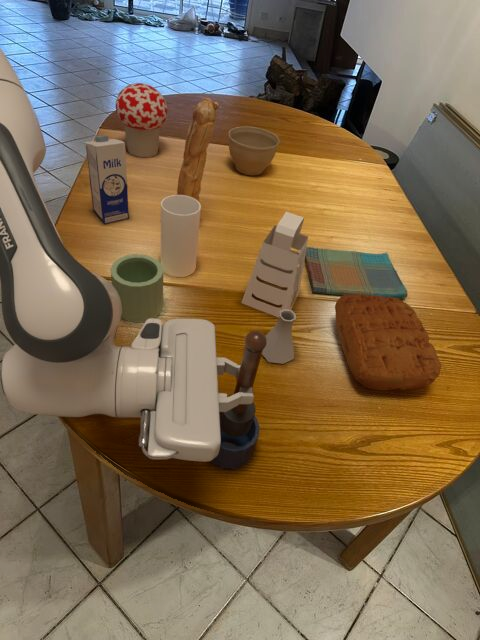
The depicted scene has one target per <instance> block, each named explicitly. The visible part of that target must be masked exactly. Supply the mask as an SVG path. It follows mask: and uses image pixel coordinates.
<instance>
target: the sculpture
mask: <svg viewBox="0 0 480 640" xmlns="http://www.w3.org/2000/svg"><path fill="white" fill-rule="evenodd" d="M201 100H202V101H200V102H199V103H197V104H196V105H195V108H194V109H193V112H192V119H191V122H190V124H189V126H188V128H187V133H186V136H185V144H184V151H183V157H182V158H183V160H182V163H181V166H180V170H179V174H178V180H177V190H176V195H185V196H189V197H192V198H194V199H196V200H197V201H198V202H199V203H200V204H201V202H200V201H201V200H200V194H201V190H202V181H203V180H202V179H203V176H204V170H205V166H206V160H207V154H208V152H207V149H208V147H209V145H210V142H211V139H212V136H213V134H214V129H215V121H216V118H217V117H218V116H217V110H218V108H219V107H220V104H219V102H217V101H213V100H212V99H211V98H210V97H202V98H201Z"/></svg>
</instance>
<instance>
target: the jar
mask: <svg viewBox="0 0 480 640" xmlns="http://www.w3.org/2000/svg"><path fill="white" fill-rule="evenodd" d="M164 274H165V272H164V271H163V267H162V265H161V263H160V261H159V260H158V259H156V258H154V257H153V256H150V255H146V254H139V253H138V254H137V253H134V254H133V253H131V254H126V255H124V256H121V257H118V258H117V259H116V260H115V261H114V262H113V263H112V264H111V267H110V279H111V284H112V285H113V286H114V288H115V289H116V291H117V293H118V295H119V297H120V300H121V305H122V315H121V320H125V321H127V322H131V323H145V322H146V320H147V319H150V318H157V317H158V316H159V315H160V314H161V312H162V310H163V308H164V307H163V306H164Z"/></svg>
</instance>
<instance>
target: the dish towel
mask: <svg viewBox="0 0 480 640" xmlns="http://www.w3.org/2000/svg"><path fill="white" fill-rule="evenodd" d="M304 263H305V266H306V270H307V275H308V279H309V285H310V288H311V292H312V293H314V294H321V295H322V294H324V295H335V296H337V295H338V296H343V295H346V294H361V295H377V296H384V297H393V298H398V299H399V300H403V299H405V298H407V297H408V290H407V287H406V286H405V284H404V283H403V281H402V280H401V278H400V276H399V274H398V271H397V270H396V269H395V267H394V265H393V264H392V262H391V259H390V256H389V254H388V253H387V252H383V253H371V252H362V251H357V250H356V251H355V250H341V249H332V248H331V249H330V248H320V247H314V246H313V247H312V246H307V248H306V254H305V260H304Z"/></svg>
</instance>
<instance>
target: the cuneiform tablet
mask: <svg viewBox="0 0 480 640" xmlns="http://www.w3.org/2000/svg"><path fill="white" fill-rule="evenodd" d="M334 310H335V311H334V312H335V324H336V328H337V329H336V330H337V334H338V336H339V337H338V338H339V342H340V344H341V349H342V351H343V353H344V356H345V359H346V362H347V366H348V368H349V370H350V372H351V374H352V377H353V378H354V379H355V380H356V382H358V383H359V384H360V385H362V386H364V387H365V388H367V389H370V390H376V391H390V390H397V389H398V390H400V391H402V390H403V391H404V390H413V389H422V388H424V387H428V386H430V385H431V384H433V383H434V382H435V381H436V379H438V377H439V376H440V374H441V370H442V364H441V362H440V359H439V356H438V353H437V351H436V348H435V346H434V345H433V343H431V342H429V341H430V336H429V333H428V332H427V330H426V328H425V327H424V325H423V321H422V320H421V319H420V318H419V316H418V315H417V312H416V311H415V309H414V308H413V307H412V306H411V305H409V304H408V303H407V302H405V301H403V300H402V299H398V298H393V297H384V296H377V295H361V294H346V295H340V297H338V298H337V300H336V302H335V305H334Z"/></svg>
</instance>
